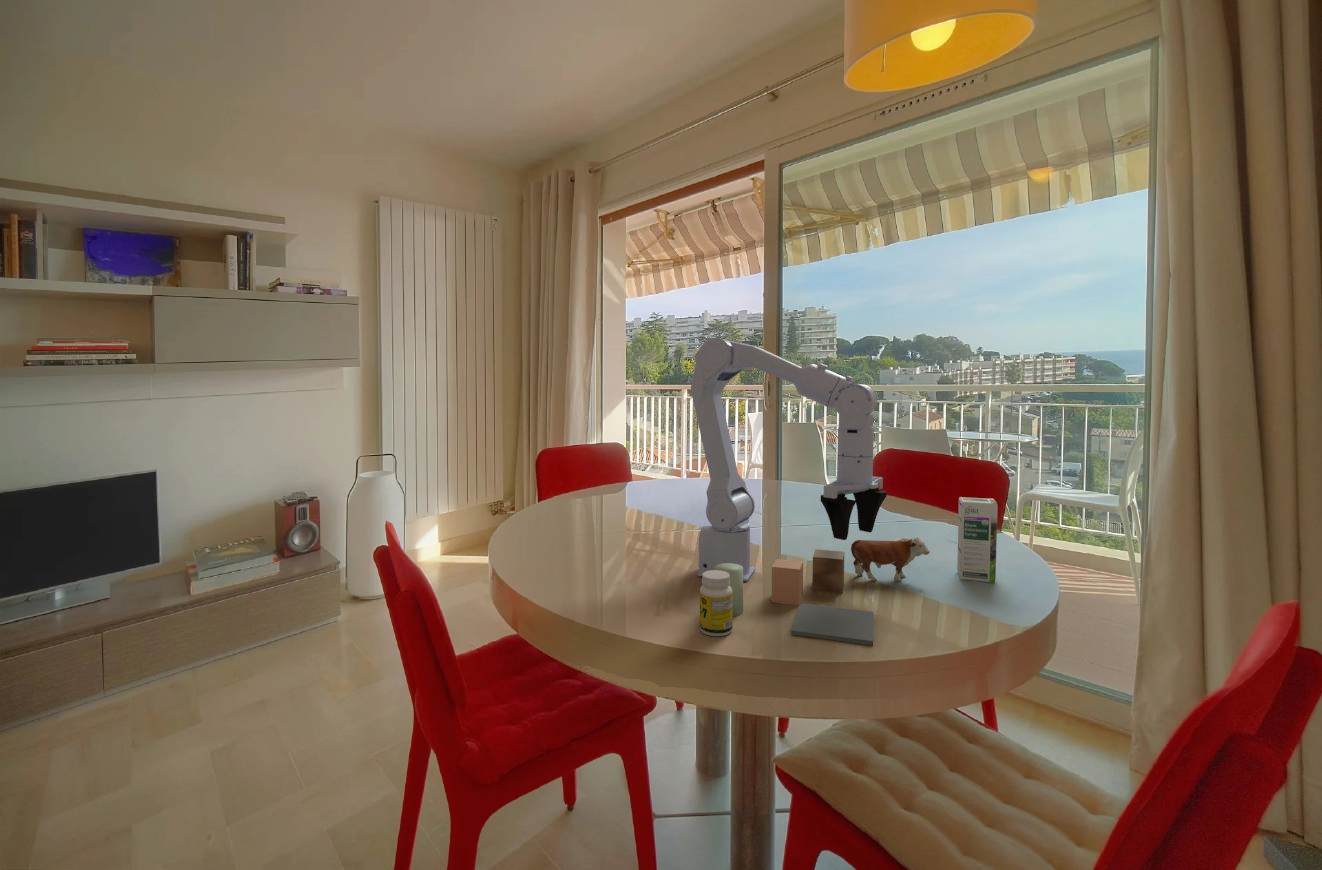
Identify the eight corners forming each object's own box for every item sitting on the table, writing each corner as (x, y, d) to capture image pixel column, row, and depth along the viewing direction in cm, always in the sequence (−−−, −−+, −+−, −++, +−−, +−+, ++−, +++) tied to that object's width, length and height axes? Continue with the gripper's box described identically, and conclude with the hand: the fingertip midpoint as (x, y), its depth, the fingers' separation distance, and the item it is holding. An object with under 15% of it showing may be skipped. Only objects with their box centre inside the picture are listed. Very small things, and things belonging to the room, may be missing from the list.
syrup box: (959, 580, 105) (961, 501, 104) (956, 570, 111) (958, 495, 110) (995, 583, 103) (998, 503, 102) (990, 574, 109) (993, 497, 108)
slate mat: (791, 634, 83) (791, 630, 83) (800, 607, 94) (800, 603, 94) (873, 645, 79) (873, 641, 79) (873, 615, 90) (873, 611, 90)
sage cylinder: (712, 614, 91) (711, 570, 91) (719, 604, 95) (718, 562, 95) (739, 617, 90) (739, 572, 89) (745, 607, 94) (745, 564, 93)
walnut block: (812, 590, 101) (812, 556, 101) (815, 581, 106) (815, 549, 105) (842, 594, 99) (843, 559, 99) (844, 584, 104) (844, 551, 104)
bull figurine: (930, 585, 103) (932, 539, 103) (851, 581, 106) (852, 536, 105) (924, 577, 107) (925, 533, 107) (848, 573, 110) (849, 530, 109)
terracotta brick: (771, 602, 96) (771, 566, 95) (776, 593, 100) (776, 559, 100) (799, 605, 94) (799, 569, 94) (802, 596, 99) (803, 561, 98)
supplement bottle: (697, 624, 87) (697, 569, 87) (728, 623, 88) (728, 568, 87) (702, 638, 82) (702, 580, 82) (735, 636, 83) (735, 578, 82)
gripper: (851, 461, 90) (849, 547, 91) (900, 454, 99) (897, 532, 100) (813, 457, 96) (812, 538, 97) (862, 450, 105) (861, 524, 106)
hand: (853, 534), depth 99 cm, fingers open, 7 cm apart
